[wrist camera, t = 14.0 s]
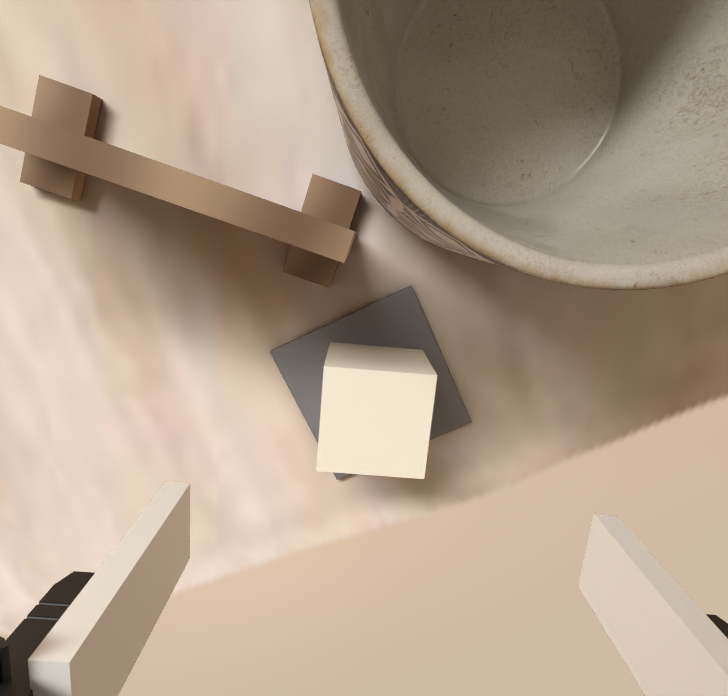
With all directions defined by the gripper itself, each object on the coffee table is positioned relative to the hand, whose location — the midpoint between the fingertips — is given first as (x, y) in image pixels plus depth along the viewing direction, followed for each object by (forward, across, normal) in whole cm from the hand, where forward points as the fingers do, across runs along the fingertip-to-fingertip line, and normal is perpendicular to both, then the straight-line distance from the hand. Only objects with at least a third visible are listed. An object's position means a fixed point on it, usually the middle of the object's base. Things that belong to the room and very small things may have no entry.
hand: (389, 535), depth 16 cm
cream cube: (+17, 0, -1) cm, 17 cm away
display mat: (+17, 0, 0) cm, 17 cm away
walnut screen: (+17, -12, +11) cm, 24 cm away
